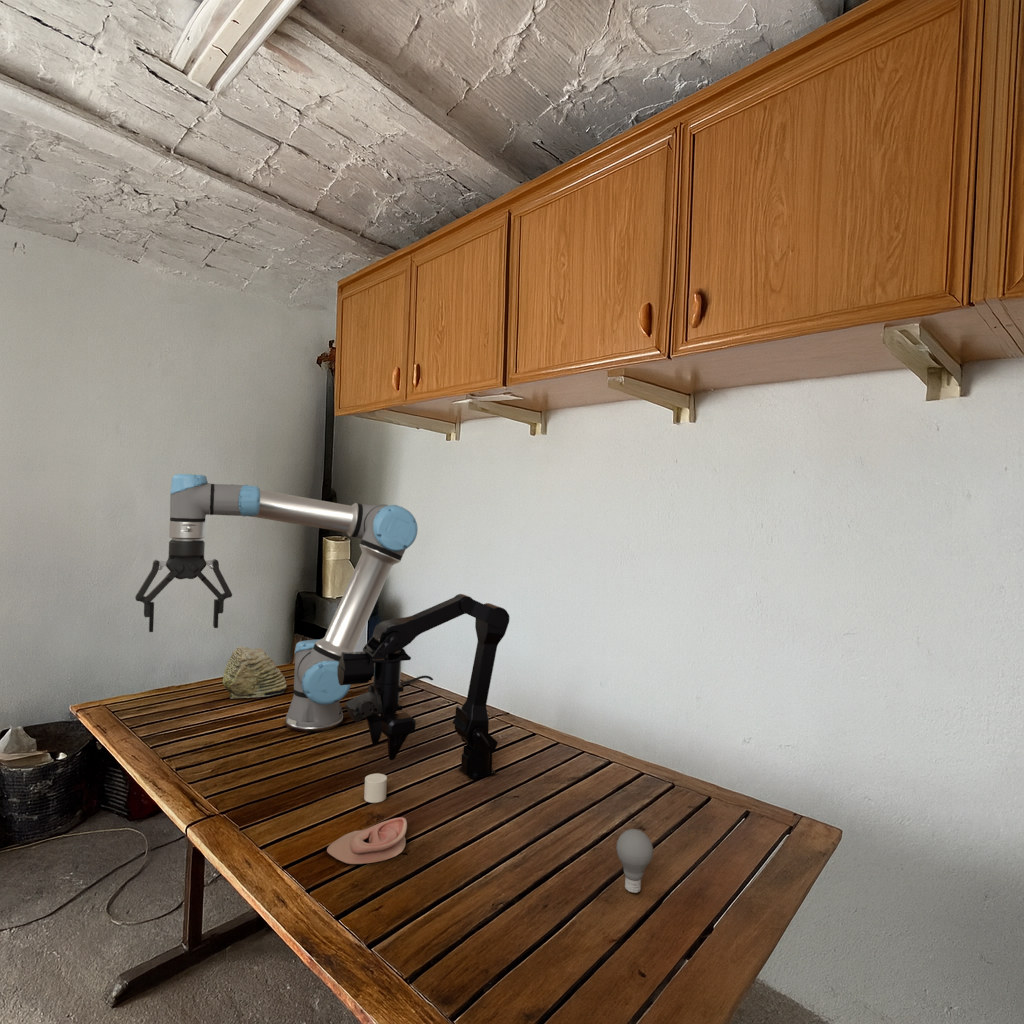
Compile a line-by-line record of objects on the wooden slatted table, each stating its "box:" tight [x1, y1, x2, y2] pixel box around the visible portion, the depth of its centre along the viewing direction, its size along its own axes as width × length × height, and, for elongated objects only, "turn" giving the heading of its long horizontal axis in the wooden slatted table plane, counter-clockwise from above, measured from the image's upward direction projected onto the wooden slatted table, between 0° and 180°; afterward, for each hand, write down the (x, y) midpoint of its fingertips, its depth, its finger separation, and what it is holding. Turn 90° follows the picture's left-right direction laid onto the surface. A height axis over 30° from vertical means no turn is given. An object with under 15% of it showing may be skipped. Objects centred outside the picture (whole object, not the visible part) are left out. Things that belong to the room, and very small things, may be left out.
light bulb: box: [615, 828, 654, 894], centre depth 106 cm, size 6×6×10 cm
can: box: [363, 772, 388, 804], centre depth 134 cm, size 5×5×4 cm
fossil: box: [222, 646, 288, 699], centre depth 198 cm, size 9×18×15 cm, turn 132°
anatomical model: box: [326, 816, 408, 865], centre depth 115 cm, size 13×4×12 cm
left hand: (184, 629), depth 150 cm, fingers open, 13 cm apart
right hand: (383, 752), depth 138 cm, fingers open, 9 cm apart
